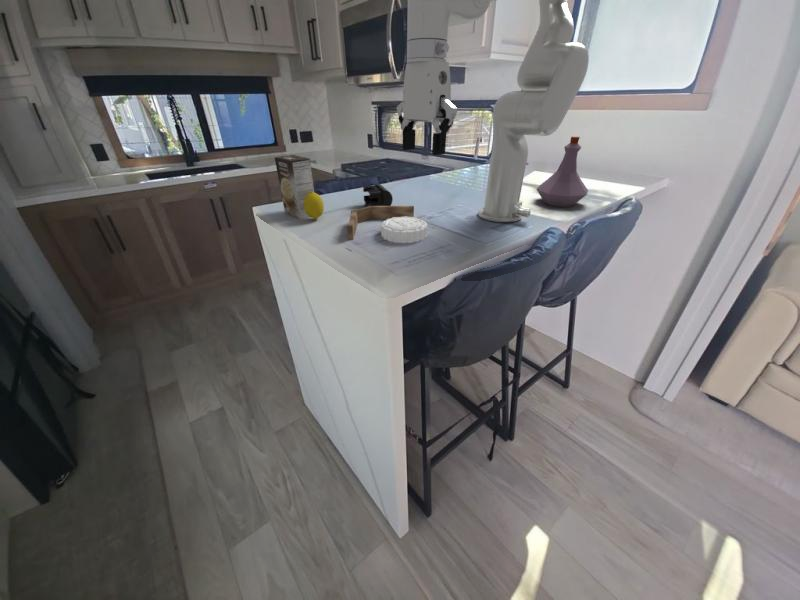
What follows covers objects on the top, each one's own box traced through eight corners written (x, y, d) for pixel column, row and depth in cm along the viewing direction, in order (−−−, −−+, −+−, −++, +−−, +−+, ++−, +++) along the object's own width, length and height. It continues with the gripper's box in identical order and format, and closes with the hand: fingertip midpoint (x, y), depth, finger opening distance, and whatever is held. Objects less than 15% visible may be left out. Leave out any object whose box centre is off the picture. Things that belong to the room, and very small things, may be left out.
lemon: (308, 223, 92) (304, 194, 88) (304, 218, 96) (299, 190, 92) (327, 220, 94) (324, 192, 90) (322, 215, 99) (318, 188, 94)
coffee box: (283, 213, 101) (273, 156, 92) (301, 208, 105) (293, 154, 96) (300, 219, 95) (290, 160, 87) (318, 214, 99) (310, 157, 91)
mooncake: (436, 238, 84) (437, 224, 82) (397, 248, 78) (396, 233, 76) (410, 224, 92) (410, 212, 90) (372, 233, 87) (372, 219, 85)
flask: (549, 194, 120) (564, 133, 110) (595, 204, 109) (615, 137, 98) (523, 201, 112) (535, 136, 101) (569, 213, 101) (589, 141, 90)
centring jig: (415, 218, 96) (415, 206, 95) (350, 240, 82) (349, 226, 80) (392, 211, 102) (391, 199, 100) (327, 230, 87) (325, 217, 86)
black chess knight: (393, 211, 103) (392, 189, 99) (371, 213, 101) (370, 190, 97) (384, 202, 111) (383, 182, 107) (363, 204, 109) (362, 183, 105)
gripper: (474, 51, 58) (464, 155, 67) (412, 58, 70) (410, 146, 79) (444, 47, 54) (438, 158, 63) (384, 56, 66) (385, 149, 75)
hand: (423, 151), depth 71 cm, fingers open, 9 cm apart
